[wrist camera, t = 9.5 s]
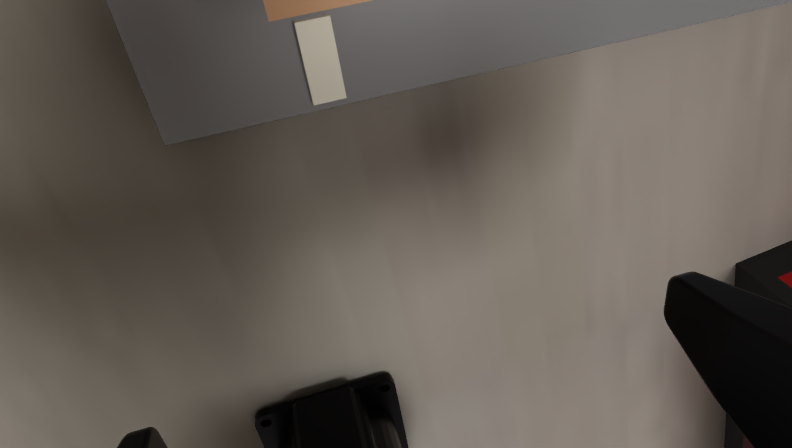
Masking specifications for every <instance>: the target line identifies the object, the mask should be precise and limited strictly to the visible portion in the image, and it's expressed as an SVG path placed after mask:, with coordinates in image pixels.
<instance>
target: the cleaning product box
mask: <svg viewBox="0 0 792 448" xmlns="http://www.w3.org/2000/svg"><path fill="white" fill-rule="evenodd" d="M735 287H737V288H740V289H743V290H745V291H748V292H751V293H753V294H756V295H759V296H762V297H764V298H767V299H770V300H772V301H775V302H778V303H780V304H783V305H786V306H788V307H791V308H792V241H790V242H787V243H785V244H782V245H780V246H777V247H775V248H773V249H770V250H768V251H765V252H763V253H760V254H758V255H756V256H753V257H751V258H748V259H746V260H743V261H741V262H739V263H736V272H735ZM724 447H725V448H754V447H753V446H752V444H751V443H750V442H749V441H748V439H747V438H746V437H745V436H744V434H743V433H742V432H741V430H740V429H739V428H738V427H737V425H736V424H735V423H734V422H733V420H732V419H731V418H730V417H729V415H728V414H727V413H726V427H725V443H724Z"/></svg>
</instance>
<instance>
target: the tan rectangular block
mask: <svg viewBox="0 0 792 448" xmlns="http://www.w3.org/2000/svg"><path fill="white" fill-rule="evenodd" d="M367 1H372V0H263V3H264V6H265V10H266V14H267V18H268V22H270V21H275V20H280V19H285V18H290V17H295V16H299V15H304V14H309V13H314V12H319V11H324V10H328V9H333V8H338V7H343V6H348V5H353V4H357V3H362V2H367Z"/></svg>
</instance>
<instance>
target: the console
mask: <svg viewBox="0 0 792 448" xmlns="http://www.w3.org/2000/svg"><path fill="white" fill-rule="evenodd" d="M106 2H107V5H108V7H109V10H110V12H111V15H112V17H113V20H114V22H115V25H116V27H117V30H118V32H119V35H120V37H121V40H122V42H123V44H124V47H125V49H126V52H127V54H128V57H129V59H130V62H131V64H132V67H133V69H134V72H135V74H136V77H137V79H138V81H139V84H140V86H141V89H142V91H143V94H144V96H145V99H146V101H147V104H148V106H149V109H150V111H151V114H152V116H153V119H154V121H155V123H156V126H157V128H158V131H159V133H160V136H161V138H162V141H163V143H164V146H166V145H171V144H175V143H179V142H184V141H188V140H192V139H197V138H201V137H206V136H210V135H214V134H219V133H223V132H227V131H232V130H236V129H240V128H245V127H249V126H254V125H258V124H262V123H267V122H271V121H275V120H280V119H284V118H288V117H293V116H297V115H302V114H306V113H310V112H315V111H319V110H323V109H328V108H332V107H336V106H341V105H345V104H350V103H354V102H358V101H363V100H367V99H371V98H376V97H380V96H384V95H389V94H393V93H398V92H402V91H406V90H411V89H415V88H419V87H424V86H428V85H432V84H437V83H441V82H446V81H450V80H454V79H459V78H463V77H467V76H472V75H476V74H480V73H485V72H489V71H494V70H498V69H502V68H507V67H511V66H515V65H520V64H524V63H528V62H533V61H537V60H542V59H546V58H550V57H555V56H559V55H563V54H568V53H572V52H576V51H581V50H585V49H590V48H594V47H598V46H603V45H607V44H611V43H616V42H620V41H624V40H629V39H633V38H638V37H642V36H646V35H651V34H655V33H659V32H664V31H668V30H672V29H677V28H681V27H686V26H690V25H694V24H699V23H703V22H707V21H712V20H716V19H720V18H725V17H729V16H734V15H738V14H742V13H747V12H751V11H755V10H760V9H764V8H768V7H773V6H777V5H782V4H786V3H790V2H792V0H372V1H367V2H362V3H357V4H353V5H348V6H343V7H338V8H333V9H328V10H324V11H319V12H314V13H309V14H304V15H299V16H295V17H290V18H285V19H280V20H275V21H270V22H268V18H267V14H266V10H265V6H264V3H263V0H106Z"/></svg>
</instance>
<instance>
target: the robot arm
mask: <svg viewBox="0 0 792 448" xmlns="http://www.w3.org/2000/svg"><path fill="white" fill-rule="evenodd" d="M664 317H665V320H666V322H667V324H668V326H669V328H670V329H671V331H672V332H673V334H674V336H675V337H676V339H677V340H678V342H679V343H680V345H681V347H682V348H683V350H684V351H685V353H686V354H687V356H688V358H689V359H690V361H691V362H692V364H693V365H694V367H695V368H696V370H697V372H698V373H699V375H700V376H701V378H702V379H703V381H704V383H705V384H706V386H707V387H708V389H709V390H710V391H711V393H712V394H713V396H714V397H715V399H716V400H717V401H718V402H719V404H720V405H721V406H722V408H723V409H724V410H725V412H726V413H727V414H728V415H729V417H730V418H731V419H732V420H733V422H734V423H735V424H736V425H737V427H738V428H739V429H740V430H741V432H742V433H743V434H744V436H745V437H746V438H747V439H748V441H749V442H750V443H751V444H752V446H753V447H754V448H792V308H791V307H788V306H786V305H783V304H780V303H778V302H775V301H772V300H770V299H767V298H764V297H762V296H759V295H756V294H753V293H751V292H748V291H745V290H743V289H740V288H737V287H735V286H732V285H729V284H727V283H724V282H721V281H719V280H716V279H713V278H711V277H708V276H705V275H702V274H700V273H697V272H687V273H684V274H680V275H677V276H673V277H672V278H671V279H670V280H669V282H668V286H667V293H666V299H665V305H664ZM384 384H386V385H384ZM382 385H384V386H382ZM265 419H268V420H265ZM255 427H256V429H257V431H258V434H259V436H260V438H261V441H262V443H263V445H264V447H265V448H408V444H407V439H406V434H405V429H404V425H403V420H402V415H401V411H400V406H399V401H398V397H397V392H396V387H395V384H394V380H393V378H392V376H390V375H389V374H381V375H378V376H374V377H371V378H367V379H364V380H361V381H357V382H354V383H350V384H347V385H343V386H340V387H337V388H333V389H330V390H326V391H323V392H319V393H316V394H313V395H309V396H306V397H302V398H299V399H295V400H292V401H289V402H285V403H282V404H278V405H275V406H271V407H268V408H265V409H262V410H260V411H258V412H257V413H256V414H255ZM117 448H167V446H166V444H165V442H164V441H163V439H162V437H161V436H160V434H159V432H158V431H157V430H156V429H155V428H153V427H148V428H144V429H141V430H137V431H134V432H131V433H128V434H127V435H126V436H125V437H124V438H123V439H122V441H121V442H120V444H119V445H118V447H117Z"/></svg>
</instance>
